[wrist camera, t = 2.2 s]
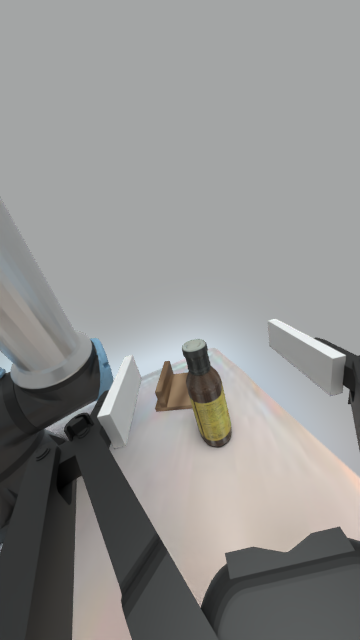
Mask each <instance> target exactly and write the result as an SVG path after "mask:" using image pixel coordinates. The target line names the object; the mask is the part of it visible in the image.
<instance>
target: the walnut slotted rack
mask: <svg viewBox="0 0 360 640" xmlns="http://www.w3.org/2000/svg"><path fill="white" fill-rule="evenodd" d="M187 374H188V373H181V374H173V371H172V367H171V364H170V361H165V362H164V365H163V369H162V372H161V375H160V378H159V381H158V384H157V388H156V391H155V393H156V396H157V399H158V400H157V404H156V407H155V409H156V412H157V411H168V410H179V409H189V408H192V404H191V401H190V398H189V394H188V389H187V386H186V377H187Z"/></svg>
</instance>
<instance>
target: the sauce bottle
mask: <svg viewBox="0 0 360 640" xmlns="http://www.w3.org/2000/svg"><path fill="white" fill-rule="evenodd" d="M207 350H208V349H207V345H206V342H205V341H204V340H200V339H196V340H190V341H188V342H186V343H185V344H184V345H183V346H182V351H183V355H184V357H185V358H186V361H187V365H188V370H189V372H188V374H187V377H186V386H187V389H188V394H189V398H190V401H191V404H192V408H193V411H194V414H195V417H196V421H197V424H198V427H199V431H200V433H201V435H202V437H203V439H204V441H205V442H206V443H207V444H209V445H211V446H222V445H224V444H225V443H226V442H228V441H229V439H230V437H231V421H230V417H229V413H228V408H227V403H226V400H225V394H224V390H223V386H222V381H221V378H220V376H219V374H218V372H217V371H216V370H215V369H214V368H213V367H212V366H210V361H209V357H208V354H207Z"/></svg>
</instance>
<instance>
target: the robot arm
mask: <svg viewBox="0 0 360 640" xmlns="http://www.w3.org/2000/svg"><path fill="white" fill-rule="evenodd" d="M268 331H269V344H270V347H271V348H272V349H274V350H275V351H276V352H277V353H279V354H280V355H281V356H282V357H283V358H285V359H286V360H287V361H288V362H289V363H291V364H292V365H293V366H294V367H296V368H297V369H298V370H299V371H301V372H302V373H303V374H304V375H305V376H306V377H308V378H309V379H310V380H312V381H313V382H314V383H315V384H316V385H317V386H319V387H320V388H321V389H322V390H324V391H325V392H326V393H327V394H328V395H330V396H333V395H337V394H341V393H343V385H344V386H345V387H347V388H349V389H350V391H349V400H348V404H351V407H352V412H353V417H354V423H355V428H356V434H357V439H358V444H359V450H360V356H356V355H354V354H352V353H350V352H348V351H346V350H344V349H342V348H340V347H337V346H336V345H334V344H332V343H330V342H328V341H326V340H323V339H320V338H312V337H310V336H308V335H306V334H304V333H302V332H300V331H298V330H296V329H294V328H293V327H291V326H289V325H287V324H285V323H283V322H281V321H279V320H277V319H273V320H269V321H268ZM0 351H1V352H2V353H3V354H4V355H5V356H6V357H8V359H10V360H11V361H12V362H13V364H12V367H11V372H9V373H5V372H6V371H5V369H2V368H1V367H0V543H3V542H4V543H3V546H2V549H1V553H0V640H72V618H73V584H74V550H75V516H76V482H77V478H78V477H80V476H83V479H84V482H85V485H86V488H87V491H88V494H89V497H90V500H91V503H92V506H93V509H94V512H95V515H96V518H97V521H98V524H99V527H100V530H101V533H102V536H103V539H104V541H105V544H106V547H107V550H108V553H109V556H110V559H111V562H112V565H113V568H114V571H115V574H116V577H117V580H118V583H119V586H120V589H121V593H122V599H121V603H122V608H123V612H124V615H125V619H126V622H127V625H128V628H129V632H130V635H131V638H132V640H360V541H357V540H354V539H350V538H347V537H346V535H345V534H344V532H343V531H342V529H341V528H340V527H336V528H332V529H328V530H323V531H319V532H315V533H311V534H310V535H309V536H307V537H306V538H305V539H304V540H303V541H301V542H300V543H299V544H298V545H297V546H295V547H294V548H293V549H292V550H290V551H289V552H279V551H273V550H268V549H262V548H257V547H250V548H246V549H241V550H237V551H233V552H228V553H225V556H226V561H227V564H226V565H225V566H223V567H222V568H221V569H220V570H219V571H218V573H217V574H216V575H215V577H214V578H213V580H212V581H211V583H210V585H209V587H208V589H207V591H206V594H205V596H204V599H203V602H202V605H201V608H200V606H199V605H198V603H197V601H196V599H195V598H194V596H193V594H192V593H191V591H190V589H189V587H188V586H187V584H186V582H185V580H184V579H183V577H182V575H181V573H180V572H179V570H178V568H177V566H176V565H175V563H174V561H173V560H172V558H171V556H170V554H169V553H168V551H167V549H166V547H165V546H164V544H163V542H162V541H161V539H160V537H159V535H158V534H157V532H156V530H155V529H154V527H153V525H152V523H151V522H150V520H149V518H148V516H147V515H146V513H145V511H144V509H143V508H142V506H141V504H140V502H139V501H138V499H137V497H136V496H135V494H134V492H133V490H132V489H131V487H130V485H129V483H128V482H127V480H126V478H125V476H124V475H123V473H122V471H121V469H120V468H119V466H118V464H117V463H116V461H115V459H114V457H113V456H112V454H111V452H110V450H109V447H110V444H112V445H113V447H114V449H116V448H120V447H124V446H126V444H127V440H128V435H129V431H130V427H131V422H132V418H133V414H134V409H135V405H136V401H137V396H138V392H139V388H140V383H141V379H142V378H141V375H140V373H139V370H138V368H137V365H136V363H135V360H134V358H133V355H130V356H127V357H125V358H124V360H123V362H122V364H121V367H120V368H119V371H118V373H117V375H116V377H115V379H114V381H113V376H112V372H111V368H110V365H109V364H108V360H107V356H106V353H105V351H104V348H103V346H102V344H101V342H100V341H99V339H97V338H93V339H90V338H89V337H88V336H87V335H86V334H84V333H82V332H80V331H75V330H74V329H73V327H72V325H71V324H70V322H69V320H68V318H67V316H66V315H65V313H64V311H63V309H62V307H61V306H60V304H59V302H58V300H57V298H56V296H55V295H54V293H53V291H52V289H51V288H50V286H49V284H48V282H47V281H46V278H45V277H44V275H43V273H42V271H41V270H40V268H39V266H38V264H37V262H36V261H35V259H34V257H33V255H32V253H31V252H30V250H29V248H28V246H27V244H26V243H25V241H24V239H23V237H22V235H21V234H20V232H19V230H18V228H17V226H16V225H15V223H14V221H13V219H12V217H11V216H10V214H9V212H8V210H7V208H6V207H5V205H4V203H3V201H2V199H1V198H0ZM97 400H98V401H97ZM94 401H97V403H96V405H95V408H94V409H93V411H92V413H91V415H89V414H88V413H81V414H78V415H77V416H75V417H74V418H72V419H71V420H70V421H69V422H68V423H67V424H66V426H65V428H64V432H65V434H66V435H67V437H68V438H69V441H67V440H66V439H65V438H63V437H61V436H59V435H57V434H55V433H52V432H50V431H48V430H46V429H45V428H46V427H48V426H50V425H52V424H54V423H55V422H57V421H59V420H61V419H63V418H64V417H66V416H68V415H70V414H72V413H73V412H75V411H77V410H79V409H81V408H83V407H84V406H86V405H88V404H90V403H92V402H94Z"/></svg>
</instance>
